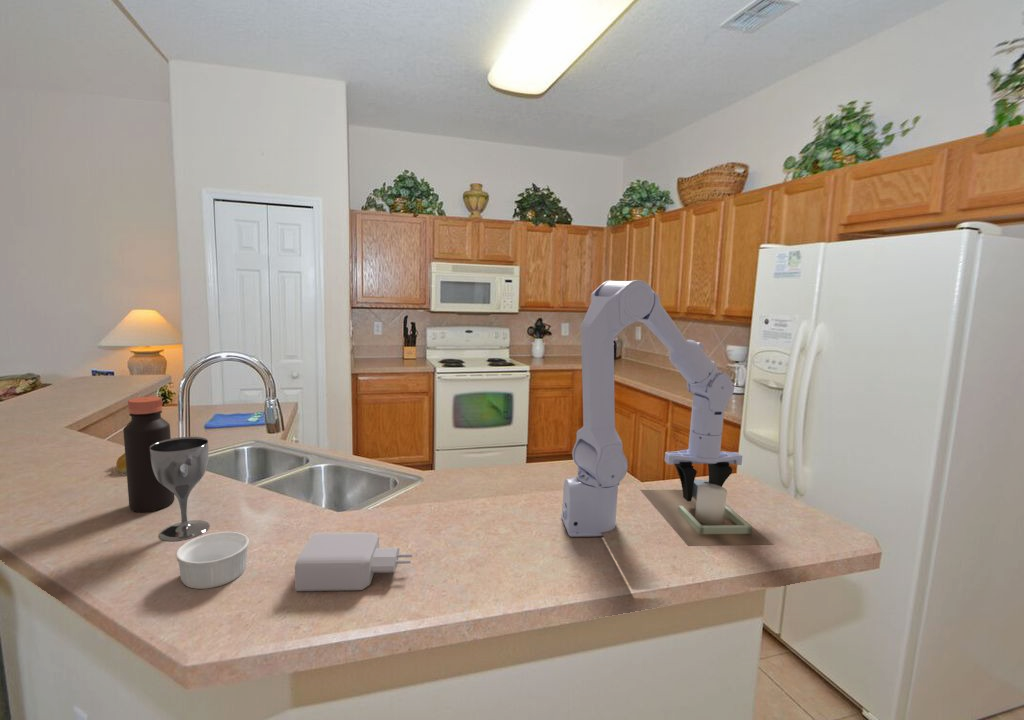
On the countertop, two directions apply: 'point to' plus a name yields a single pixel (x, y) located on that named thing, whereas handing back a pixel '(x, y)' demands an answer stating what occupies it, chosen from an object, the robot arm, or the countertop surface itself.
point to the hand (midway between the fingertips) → (699, 499)
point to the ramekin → (212, 559)
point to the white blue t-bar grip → (709, 502)
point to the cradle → (740, 528)
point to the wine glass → (180, 479)
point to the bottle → (145, 454)
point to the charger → (343, 561)
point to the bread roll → (121, 464)
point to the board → (668, 509)
